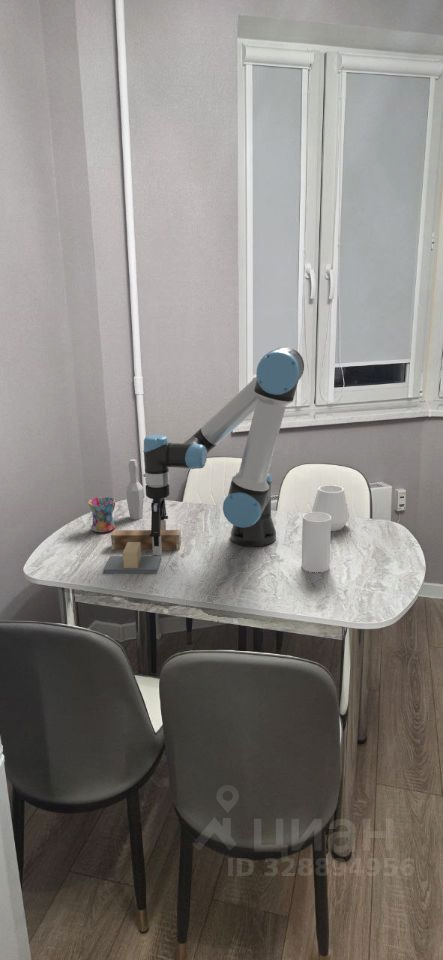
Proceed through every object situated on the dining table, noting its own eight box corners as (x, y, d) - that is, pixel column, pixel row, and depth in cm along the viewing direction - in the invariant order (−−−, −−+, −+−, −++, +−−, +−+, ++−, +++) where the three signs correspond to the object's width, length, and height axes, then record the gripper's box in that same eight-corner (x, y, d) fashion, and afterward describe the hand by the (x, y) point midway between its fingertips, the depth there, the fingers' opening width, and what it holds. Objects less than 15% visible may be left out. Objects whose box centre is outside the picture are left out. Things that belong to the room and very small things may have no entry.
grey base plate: (161, 559, 191) (160, 540, 189) (157, 573, 182) (156, 553, 180) (110, 559, 192) (108, 540, 190) (103, 573, 182) (101, 553, 180)
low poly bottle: (125, 520, 225) (121, 462, 219) (130, 514, 231) (127, 457, 225) (142, 520, 224) (138, 462, 218) (146, 514, 230) (143, 458, 224)
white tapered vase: (352, 533, 210) (354, 494, 206) (312, 533, 210) (314, 494, 206) (345, 519, 222) (346, 482, 218) (308, 519, 223) (309, 483, 219)
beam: (181, 544, 203) (180, 529, 201) (179, 549, 198) (179, 534, 197) (114, 544, 203) (113, 529, 202) (111, 549, 199) (110, 535, 198)
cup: (312, 575, 179) (313, 523, 174) (296, 564, 186) (297, 514, 181) (334, 569, 182) (336, 518, 178) (318, 559, 189) (319, 510, 185)
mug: (106, 536, 211) (104, 506, 208) (84, 532, 215) (82, 503, 211) (126, 524, 221) (124, 496, 218) (105, 521, 225) (103, 493, 222)
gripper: (150, 473, 207) (153, 532, 213) (139, 496, 183) (142, 562, 189) (173, 473, 206) (175, 532, 213) (164, 496, 183) (167, 562, 189)
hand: (160, 546), depth 201 cm, fingers open, 13 cm apart
